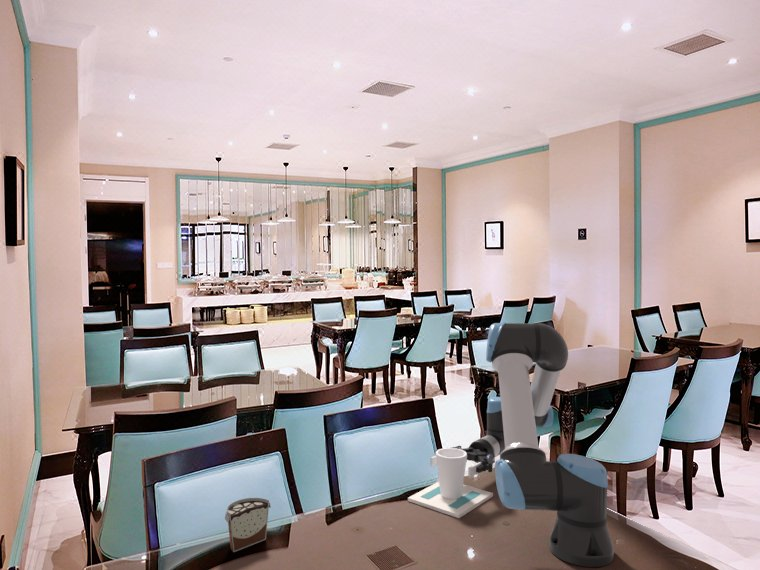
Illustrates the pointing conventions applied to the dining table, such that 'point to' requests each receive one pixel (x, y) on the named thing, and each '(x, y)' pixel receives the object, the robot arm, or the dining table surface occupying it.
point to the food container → (247, 522)
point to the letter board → (450, 500)
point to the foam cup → (451, 471)
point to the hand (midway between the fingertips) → (449, 467)
